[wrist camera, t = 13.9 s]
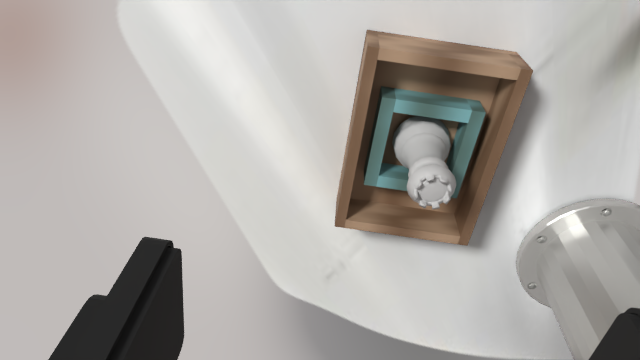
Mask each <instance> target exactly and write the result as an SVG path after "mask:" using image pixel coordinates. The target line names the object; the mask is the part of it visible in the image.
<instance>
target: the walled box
mask: <svg viewBox="0 0 640 360" xmlns="http://www.w3.org/2000/svg"><path fill="white" fill-rule="evenodd" d="M532 73H533V70H532V69H531V68H530V67H529V65H528V64H527V63H526V62H525V61H524V60H523V59H522V58H521V57H520V55H519V54H518V53H517V52H512V51H505V50H499V49H492V48H485V47H478V46H472V45H465V44H458V43H452V42H445V41H438V40H431V39H425V38H418V37H411V36H405V35H398V34H391V33H384V32H378V31H371V30H367V32H366V37H365V43H364V49H363V54H362V60H361V66H360V71H359V77H358V82H357V88H356V94H355V99H354V105H353V110H352V116H351V122H350V127H349V133H348V139H347V144H346V150H345V155H344V161H343V167H342V172H341V178H340V183H339V189H338V195H337V202H336V216H335V226H336V227H343V228H350V229H357V230H364V231H370V232H377V233H384V234H391V235H398V236H405V237H412V238H419V239H425V240H432V241H439V242H446V243H453V244H460V245H468V242H469V240H470V237H471V234H472V232H473V229H474V226H475V224H476V221H477V218H478V216H479V213H480V211H481V208H482V205H483V203H484V200H485V197H486V195H487V192H488V189H489V187H490V184H491V181H492V179H493V176H494V173H495V171H496V168H497V165H498V163H499V160H500V158H501V155H502V152H503V150H504V147H505V144H506V142H507V139H508V136H509V134H510V131H511V128H512V126H513V123H514V120H515V118H516V115H517V112H518V110H519V107H520V104H521V102H522V99H523V97H524V94H525V91H526V89H527V86H528V83H529V81H530V78H531V75H532ZM416 116H423V117H430V118H436V119H438V120H440V121H441V122H443V124H444V125H445V126H446V128H447V129H448V132H449V138H450V144H451V146H450V150H449V153H448V157H447V158H446V159H445V161H444V162H445V163H446V165H447V166H448V169H449V170H450V171H451V172H452V174H453V175H454V176H455V180H456V188H455V191H454V193H453V195H452V196H451V197H450V198H451V200H450V201H449V202H448V203H447V205H446V204H445V203H444V202H443V203H441V204H439V206H440V208H439V209H433V210H432V206H426V208H423V207H421V206H419V203H417V202H415V201H413V200H412V198H411V197H410V196H409V195H408V191H407V183H408V179H409V177H408V173H409V169H408V168H406V167H404V166H403V165H402V164H401V163H400V161H399V160H398V159H397V158H396V155H395V152H394V148H393V144H392V141H393V136H394V132H395V131H396V130H397V128H398V127H399V125H400V124H401V123H403V122H404V121H406V120H407V119H409V118H411V117H416Z"/></svg>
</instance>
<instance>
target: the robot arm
mask: <svg viewBox="0 0 640 360" xmlns="http://www.w3.org/2000/svg"><path fill="white" fill-rule="evenodd" d="M516 268H517V273H518V276H519V279H520V282H521V284H522V286H523V288H524V289H525V291H526V292H527V293H528V294H529V295H530V296H531V297H532V298H533V299H535V300H536V301H538V302H539V303H541V304H543V305H546V306H548V307H550V308H551V309H552V311H553V313H554V315H555V318H556V320H557V322H558V324H559V327H560V329H561V331H562V333H563V336H564V338H565V340H566V342H567V345H568V347H569V349H570V351H571V353H572V356H573V358H574V360H640V206H639V205H637V204H635V203H632V202H628V201H624V200H618V199H593V200H588V201H583V202H578V203H575V204H572V205H569V206H566V207H564V208H561V209H560V210H558V211H556V212H554V213H552V214H550V215H548V216H547V217H546V218H544V219H543V220H541V221H540V222H539V223H538V224H537V225H536V226H535V227H534V228H533V229H532V230H531V231H530V232H529V233H528V234H527V236H526V237H525V238H524V240H523V241H522V243H521V245H520V248H519V250H518V253H517V259H516ZM183 339H184V317H183V287H182V256H181V250H180V249H177V248H174V247H173V243H172V241H170V240H163V239H157V238H149V237H144V238H142V240H141V241H140V243H139V244H138V246H137V247H136V249H135V251H134V252H133V254H132V256H131V257H130V259H129V261H128V262H127V264H126V266H125V267H124V269H123V271H122V272H121V274H120V276H119V277H118V279H117V281H116V282H115V284H114V285H113V287H112V289H111V291H110V292H109V294H108V295H107V296H103V295H93V296H91V297H90V298H89V299H88V300H87V301H86V303H85V304H84V305H83V307H82V309H81V310H80V312H79V313H78V315H77V316H76V318H75V319H74V321H73V322H72V324H71V326H70V327H69V329H68V330H67V332H66V333H65V335H64V336H63V338H62V339H61V341H60V343H59V344H58V346H57V347H56V349H55V350H54V352H53V353H52V355H51V356H50V358H49V360H177V359H178V356H179V354H180V351H181V348H182V344H183Z"/></svg>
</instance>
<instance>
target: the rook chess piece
mask: <svg viewBox="0 0 640 360" xmlns="http://www.w3.org/2000/svg"><path fill="white" fill-rule="evenodd" d="M392 144H393V148H394V152H395V155H396V158H397V159H398V160H399V161H400V163H401V164H402V165H403V166H404V167H406V168H408V169H409V173H408V177H409V179H408V183H407V191H408V195H409V196H410V197H411V198H412V200H413V201H415V202H417V203H419V206H421V207H423V208H426V206H432V210H433V209H439V208H440V206H439V204H441V203H443V202H444V203H445V204H446V205H447V203H448V202H449V201H450V200H451V198H450V197H451V196H452V195H453V193H454V191H455V188H456V180H455V176H454V175H453V174H452V172H451V171H450V170H449V169H448V166H447V165H446V163H445V162H444V161H445V159H446V158H447V157H448V153H449V150H450V146H451V144H450V138H449V132H448V129H447V128H446V126H445V125H444V124H443V122H441V121H440V120H438V119H436V118H430V117H423V116H416V117H411V118H409V119H407V120H406V121H404V122H403V123H401V124H400V125H399V127H398V128H397V130H396V131H395V132H394V136H393V141H392Z"/></svg>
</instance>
